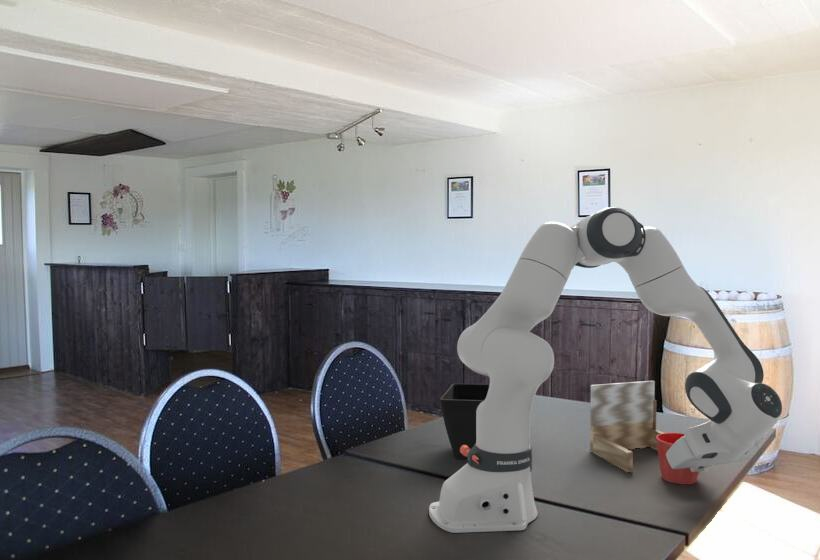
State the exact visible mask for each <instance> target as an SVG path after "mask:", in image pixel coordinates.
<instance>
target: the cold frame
mask: <svg viewBox="0 0 820 560" xmlns="http://www.w3.org/2000/svg"><path fill="white" fill-rule="evenodd" d="M655 384H656V381H655V380H644V381H629V382H628V381H627V382H615V383H602V384H590V422H589V423H590V426H589V427H590V429H589V431H590V433H589V439H590V441H589V447H590V448H589V452H590V451H592V452H593V453H592V452H591V453H592V454H594V453H595V454H596V455H595V454H594V455H595V456H597V455H598V456H597V457H599V456H600V457H599V458H601V457H602V458H604V459H605V460H604V459H603V460H604V461H606V460H607V461H606V462H608V463H609V462H610V463H609V464H611V463H612V464H611V465H613V466H614V465H615V467H616V466H617V467H616V468H618V467H619V468H618V469H620V468H621V469H622V471H623V470H624V471H623V472H625V471H626V472H625V473H627V472H631V473H634V471H633V468H634V466H633V464H634V463H633V462H634V461H633V460H634V452H633V451H632V450H636V449H635V448H640V449H647V448H646V447H650V449H653V450H655V451H657V452H658V449H657V442H656V436H657V435H659V434H663V433H665V432H663V431H662V430H659V429H657V402H658V401H657V400H656V399H655V390H656V389H655V388H656V387H655V386H656V385H655ZM628 449H630V450H628ZM602 458H601V459H602ZM621 469H620V470H621Z"/></svg>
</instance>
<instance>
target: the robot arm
mask: <svg viewBox="0 0 820 560" xmlns="http://www.w3.org/2000/svg"><path fill="white" fill-rule="evenodd" d="M613 262H614V263H617V264H618V265H619V266H621V268H623V270H624V271H625V272H626V273H627V275H628V278H629V280H630V283H631V284H632V286H633V288H634V290H635V293H636V295H637V296H638V298H639V300H640V302H641V304H643V305H644V308H646V309H647V310H648V311H650V312H652V313H653V314H656V315H659V316H664V317H684V318H687V319H689V320H691V321H692V322H693V323H694V324H695V325H696V326H697V328H698V329H699V330H700V333H701V334H702V335H703V337H704V338H705V339H706V341H707V342H708V345H710V348H711V349H712V350H713V354H714V355H713V358H712V359H711V360H709V361H708V362H706V363H705V364H703V365H701V366H700V367H698V368H697V369H695V370H694V371H693V372H691V373H690V374H688V375H687V377H686V379H685V382H684V391H685V394H686V398H687V400H689V402H690V404H691V405H692V406H693V407H694V408H695V409H696V410H697V411H698V412H699V413H701V414H702V415H703V416H704V417H706V418H707V419H708V421H706V422H704V423H702V424H698V425H695V426H694V425H693V426H692V427H688V428H686V429H685V430H684V431H683V434H684V435H685V436H683V437H681V438H680V439H678V440H677V441H676V442H675V443H674V444H673V445H672V446H671V447H670V449H669V450H668V451H667V453H666V457H667V460H668V462H669V464H670V466H671V467H672V469H682V468H690V470H691V472H697V471H699V472H704V471H705V470H707V469H708V468H711V467H712V466H716V465H717V466H718V465H725V464H726V465H727V464H735V463H744V462H747V461H748V460H750V459H752V457H753V456H754V455H755V454H756V452H757V451H759V448H760V446H759V444H761V443H762V442H763V441H764V437H765V436H766V435H767V434H768V433H769V432H770V431H771V430H772V428H773V427H775V425H776V424H777V423H778V422H779V419H780V418H781V416H782V413H783V404H782V400H781V398H780V396H779V394H778V393H777V391H775V390H774V389H773V388H772V387H771V386H770V385H768V384H766V383H763V382H764V378H765V377H764V376H765V375H764V367H763V365H762V363H761V361H760V360H759V358H758V357H757V355H755V354H754V353H753V351H752V350H751V349H749V348H748V347H747V345H746V344H745V343H744V342H743V340H742V339H741V338H740V336H739V335H738V333H737V332H736V331H735V329H734V327H733V326H732V324H731V323H730V321H729V320H728V318H727V317H726V315H725V314H724V312H723V311H722V309H721V308H720V306H719V305H718V303H717V301H716V300H715V299H714V298H713V296H712V295H711V294H710V293H709V292H708V291H707V290H706V289H705V288H704V287H702V286H700V285H698V284H697V283H696V282H695V281H694V280H693V279H692V277H691V276H690V275H689V273H688V272H687V270H686V268H685V266H684V264H683V262H682V261H681V259H680V257H679V255H678V254H677V252H676V250H675V248H674V247H673V246H672V244H671V243H670V241H669V240H668V238H667V237H666V235H664V234H663V232H662V231H661V230H660V229H659V228H657V227H653V226H644V225H643V224H642V223H640V222H639V221H638V220H637V218H636V217H635V216H634V215H633V214H632V213H631V212H629V211H627V210H626V209H623V208H621V207H616V206H615V207H613V206H612V207H611V206H609V207H604V208H601V209H599V210H598V211H596V212H595V213H592V214H590V215H587V216H585V217H584V218H582V219H581V220H580V221H578V222H577V223H576V224H574V225H572V226H568V225H566V224H564V223H562V222H557V221H549V222H545V223H543V224H541V225H540V226H539V227H538V229H537V230H536V231H535V232H534V233H533V235H532V236H531V238H530V239H529V241H528V242H527V244H526V246H525V247H524V248H523V251H522V252H521V254H520V256H519V258H518V260H517V263H516V264H515V265H514V268H513V270H512V272H511V274H510V277H509V278H508V279H507V282H506V284H505V286H504V287H503V290H502V291H501V293H500V295H499V296H498V297H497V298H496V300H495V301H494V302H493V303H492V304H491V306H490V307H489V308H488V309H487V310H486V312H485V313H484V314H483V315H482V316H481V317H480V318H479V319H478V320H477V321H476V322H475V323H473V324H471V325H469V326H468V327H467V328H465V329H464V330H463V331H462V332H461V334H460V336H459V338H458V341H457V343H456V344H457V345H456V351H457V356H458V357H459V360H460V361H461V362H462V364H464V365H465V366H466V367H467V368H468V369H470V370H471V371H473V372H474V373H476V374H478V375H482V376H485V377H489V384H490V385H489V390H488V393H487V396H486V398H485V400H484V401H483V402H481V403H480V404H479V406H478V407H477V411H476V444H475V445H474V447H473V448H472V449H470V448H469V447H468V446H467V445H462V446H461V448H460V452H461V454H463V455H464V456H466V457H467V456H468V460H467V463H466V464H464V465H463V466H462V467H461V468H460V469H457V471H456V472H455V473H453V474H452V475H451V476H450V477H448V478H447V479H446V480H445V481H443V484H442V486H441V489H440V494H439V499H438V500H439V501H435V502H431V503H430V505H429V507H428V515H429V517H430V519H431V520H432V522H433V523H434V524H435V525H436V526H437V527H438V528H441V529H442V530H443V531H446V532H449V533H452V534H453V533H455V534H458V533H460V534H461V533H462V534H463V533H482V532H483V533H485V532H486V533H487V532H488V533H489V532H507V531H508V532H510V531H513V532H515V531H524V530H526V529H527V527H528V524H529V523H531V522H533V521H534V520H536V519H537V517H538V509H537V506H536V502H535V498H534V492H533V486H532V475H531V473H532V470H533V451H532V450H533V449H532V447H533V446H532V445H531V439H530V438H531V415H532V414H531V413H532V406H533V404H534V403H533V402H534V399H535V397H536V393H537V391H538V389H539V387H540V386H541V385H542V384H543V383H545V382H546V381H547V380H548V379H549V377H550V376H551V374H552V372H553V370H554V366H555V354H554V349H553V348H552V346H551V345H550V344H549V342H548V341H547V340H545V339H544V338H541V337H540V336H539V335H537V334H534V333H533V332H531V331H532V330H533V328H535V326H537V325H538V324H540V323H541V322H542V321H544V320H546V319H548V318H549V317H550V316H551V315H552V313H553V311H554V310H555V308H556V305H557V304H558V300H559V299H560V297H561V294H562V293H563V290H564V288H565V286H566V284H567V283H568V279H569V278H570V274H571V272H572V270H573V269H574V268H575V267H580V268H584V269H593V268H598V267H600V266H603V265H607V264H610V263H613Z"/></svg>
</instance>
